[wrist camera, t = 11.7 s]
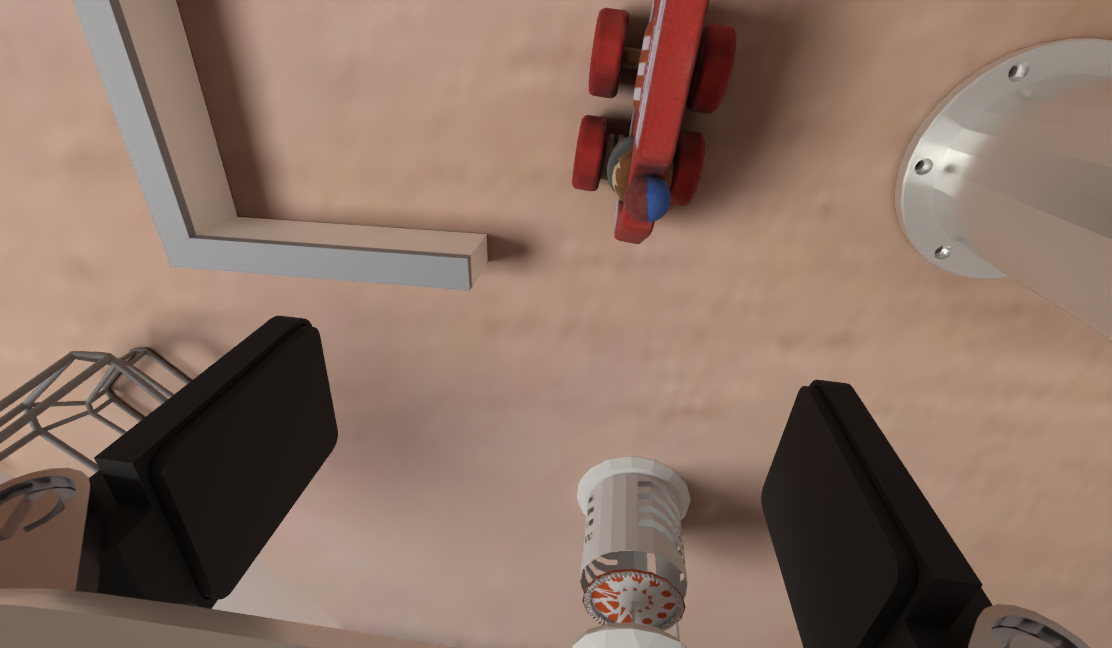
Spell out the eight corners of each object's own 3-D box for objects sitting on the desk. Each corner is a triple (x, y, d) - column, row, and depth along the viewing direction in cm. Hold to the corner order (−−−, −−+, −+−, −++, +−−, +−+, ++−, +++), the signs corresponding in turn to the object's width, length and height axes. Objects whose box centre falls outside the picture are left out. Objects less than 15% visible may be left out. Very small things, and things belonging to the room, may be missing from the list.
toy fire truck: (570, 206, 33) (547, 268, 24) (606, -24, 27) (594, -57, 18) (677, 225, 33) (695, 296, 24) (739, -4, 26) (795, -26, 17)
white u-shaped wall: (472, -112, 26) (443, -140, 22) (487, 262, 35) (469, 290, 31) (109, -112, 28) (21, -138, 24) (219, 242, 37) (170, 266, 33)
